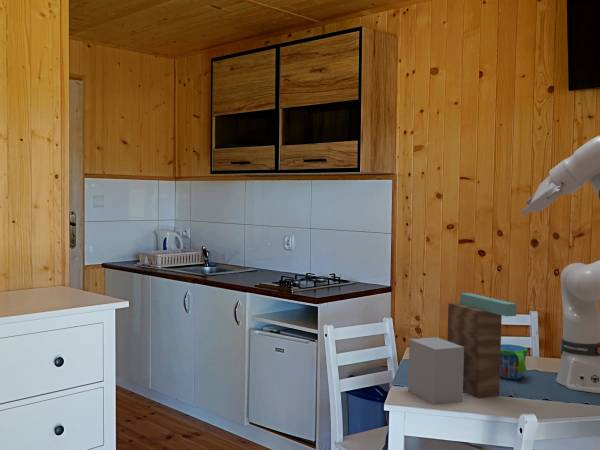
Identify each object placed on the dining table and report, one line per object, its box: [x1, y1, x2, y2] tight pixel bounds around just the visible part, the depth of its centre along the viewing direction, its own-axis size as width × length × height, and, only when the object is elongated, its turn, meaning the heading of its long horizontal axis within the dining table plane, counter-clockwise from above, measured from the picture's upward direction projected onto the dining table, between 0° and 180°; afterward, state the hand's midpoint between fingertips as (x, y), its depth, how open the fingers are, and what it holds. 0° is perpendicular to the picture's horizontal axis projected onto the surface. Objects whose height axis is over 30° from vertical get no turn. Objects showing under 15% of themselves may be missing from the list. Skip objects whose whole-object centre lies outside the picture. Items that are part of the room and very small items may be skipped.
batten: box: [459, 292, 517, 317], centre depth 191 cm, size 22×4×4 cm, turn 21°
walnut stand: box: [446, 302, 503, 399], centre depth 197 cm, size 16×8×26 cm, turn 21°
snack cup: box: [500, 343, 529, 381], centre depth 212 cm, size 16×10×10 cm
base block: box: [407, 336, 464, 405], centre depth 190 cm, size 14×10×16 cm
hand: (525, 208), depth 185 cm, fingers open, 8 cm apart
